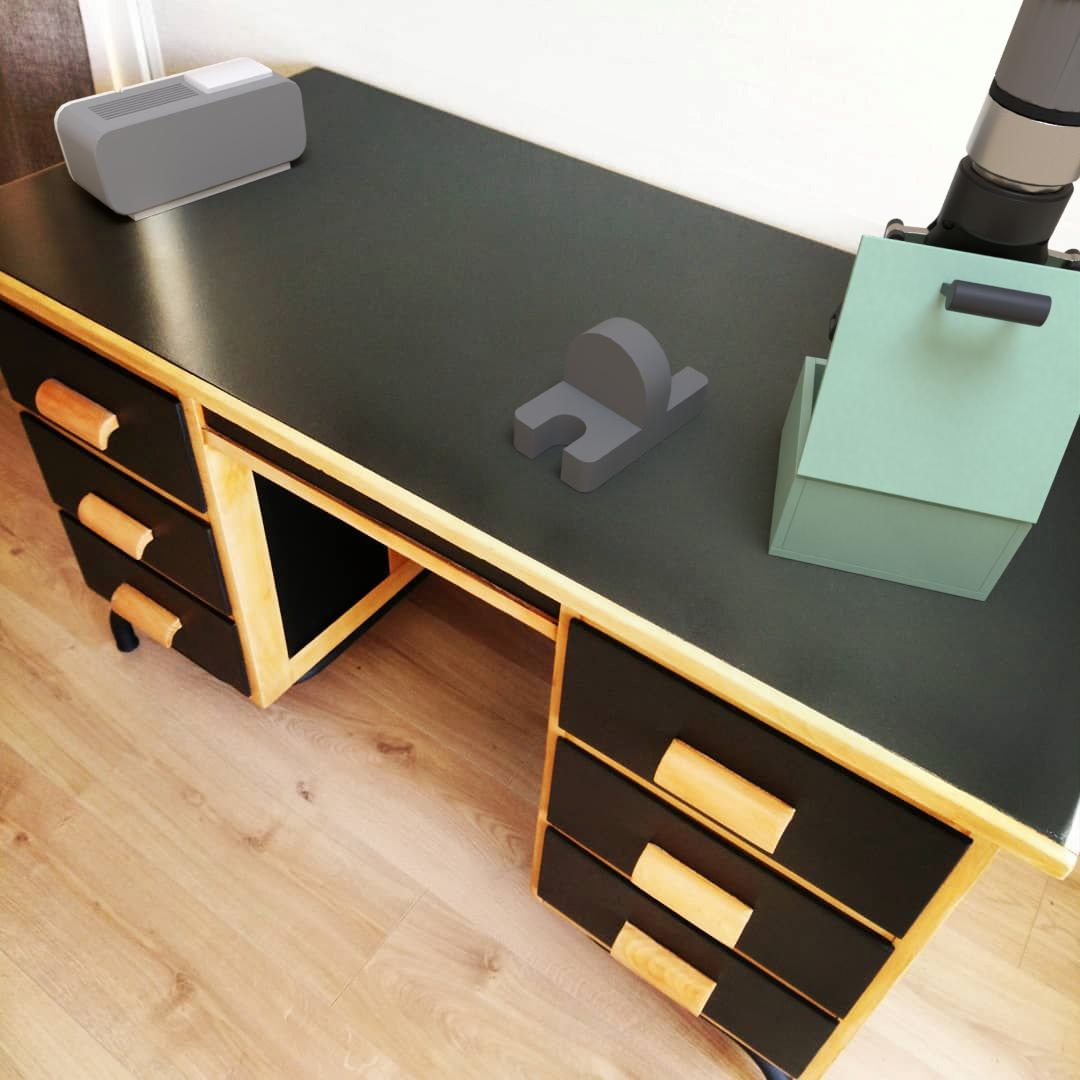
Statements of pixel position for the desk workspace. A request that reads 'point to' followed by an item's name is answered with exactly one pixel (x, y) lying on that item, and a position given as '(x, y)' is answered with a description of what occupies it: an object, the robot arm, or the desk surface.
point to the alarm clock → (182, 136)
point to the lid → (949, 379)
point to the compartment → (881, 522)
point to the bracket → (609, 404)
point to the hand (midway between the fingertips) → (905, 424)
